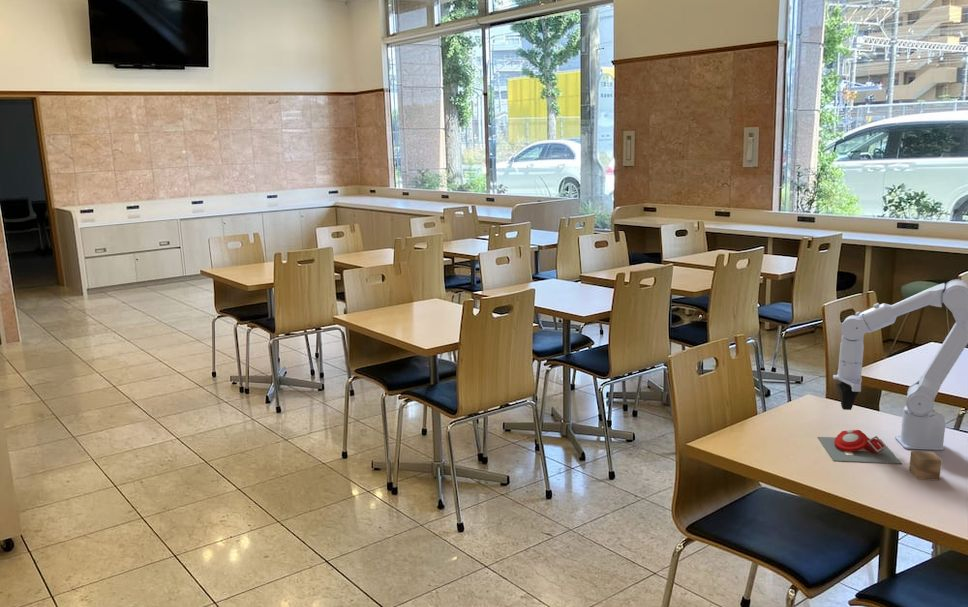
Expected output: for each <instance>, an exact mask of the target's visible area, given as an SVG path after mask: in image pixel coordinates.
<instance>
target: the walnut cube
mask: <svg viewBox="0 0 968 607" xmlns="http://www.w3.org/2000/svg"><path fill="white" fill-rule="evenodd" d="M941 468H942V459H941V458H940V457H939V456H938V455H937V454H936V453H935V451H921V450H920V451H917V450H914V451H913V450H911V451H910V458H909V468H908V471H909V473H911V474H912V475H913V476H914V478H915V479H916V480H931V481H932V480H933V481H934V480H935V481H940V478H941Z"/></svg>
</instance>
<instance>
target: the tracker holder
mask: <svg viewBox="0 0 968 607" xmlns="http://www.w3.org/2000/svg"><path fill="white" fill-rule="evenodd" d="M835 437H836V438H835V440H834V444H835V447H836V448H838V449H839V450H842V451H847V452H853V451H858V450H861V449H863V448H865V449H867V450H868V451H871V452H873V453H879V452H881V451H883V450H884V449H885V448H887V447H888V446H887V445H886V444H885V445H886V446H887V447H886V446H885V445H884V443H885V442H884V441H883V440H882V439H881V438H879V437H878V436H877V435H876V436H873V437H871V438H870V437H869V436H867V435H866V434H865V433H864V432H863V431H862V430H860V429H854V430H853V429H849V430H842V431H841V432H840V433H839V434H837V436H835ZM877 439H878V440H877ZM880 439H881V440H882V441H883V442H884V443H883V442H882V441H881V440H880Z"/></svg>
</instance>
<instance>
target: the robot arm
mask: <svg viewBox="0 0 968 607" xmlns="http://www.w3.org/2000/svg"><path fill="white" fill-rule="evenodd" d="M943 304H944V305H945V307H946V308H947V309H948V310H949V311H950V312H951V313H952V316H953V318H954V320H955V322H954V324H953V325H952V328H951V329H950V331H949V332H948V334H947V335H946V337H945V339H944V341H943V342H942V344H941V345H940V347H939V348H938V350H937V351H936V353H935V355H934V356H933V358H932V360H931V362H930V363H929V364H928V366H927V368H926V369H925V371H924V372H923V373H922V375H921V376H920V377H919V379H918V380H917V381H916V382H915V383H913V384H911V385H910V386H909V387H908V389H907V391H906V395H907V397H906V400H905V406H904V407H903V410H902V420H901V421H902V422H901V431H900V432H901V433H900V435H895V436H894V438H895V440H897V441H898V443H899V444H900V445H901V447H903V448H904V449H907V450H908V449H909V450H932V451H943V450H945V448H944V442H945V441H944V439H945V431H946V421H945V416H944V415H943V413H942V412H940V411H939V412H937V411H935V409H934V407H935V398H936V397H937V395H938V393H939V392H940V388H941V387H942V385H943V383H944V382H945V380H946V378H947V377H948V375H949V373H950V372H951V370H952V369H953V367H954V365H955V364H956V362H957V361H958V359H959V357H960V356H961V355H962V352H963V351H964V350H965V349H966V347H967V345H968V282H967V281H965V280H963V279H960V278H959V279H957V278H956V279H952V280H951V279H950V281H947V282H946V283H945V282H943V283H940V284H939V283H938V284H937V285H934V286H931V287H929V288H927V289H924V290H922V291H920V292H918V293H916V294H913V295H912V296H909V297H906V298H905V299H903V300H900V301H898V302H896V303H894V304H888V303H884V302H883V303H881V304H880V303H879V302H877V303H874V304H873V306H872V307H870V308H869V309H866V310H864V311H862V312H861V311H857V312H855V315H853V314H852V315H849V316H847V317H846V318H845V319H844V320H843V322H842V324H841V326H840V332H841V337H840V344H839V353H838V354H839V355H838V356H839V358H838V366H837V367H838V369H837V374H833V375H832V378H833V380H838V381H836V382H835V384H836V387H837V390H838V393H839V399H840V405H841V408H842V411H843V410H844V411H847V410H848V411H851V410H852V409H853V407H854V404H855V400H856V398H857V396H858V394H859V393H861V392H862V381H863V378H862V370H863V361H864V360H863V359H864V358H863V357H864V351H865V350H864V348H865V344H864V336H865V334H867V333H873V332H875V331H879V330H881V329H883V328H885V327H888V326H890V325H891V326H892V325H893V324H894V323H895V322H896V321H897V317H900V316H902V315H905V314H908V313H910V312H913V311H915V310H919V309H922V308H925V307H927V306H932V307H937V308H942V307H943Z"/></svg>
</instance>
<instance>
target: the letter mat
mask: <svg viewBox="0 0 968 607" xmlns="http://www.w3.org/2000/svg"><path fill="white" fill-rule="evenodd" d="M836 437H837V436H835V437H834V436H833V437H832V436H817V439H818V441H820V443H821V445H822V446H823V447H824V449H825V451H826V452H827V454H828V456H829V457H830V458H831V460H832V461H833V462H846V463H848V462H849V463H870V464H871V463H872V464H888V465H889V464H891V465H902V462H901V461H900V459H899V458H898V457H897V456H896V455H895V454H894V453H893V452H892V450H891V449H890V448H889V447H888V446H887V444H886V443H885V442H884V441H883V440H882V439H881V438H879V439H880V440H881V441H882V442H883V443H884V445H885V446H886V447H887V448H885V449H884V450H883V451H881V452H879V453H873V452H871V451H868V450H867V449H865V448H863V449H861V450H858V451H853V452H847V451H842V450H839V449H838V448H836V447H835V444H834V440H835V438H836ZM876 439H877V438H876ZM877 440H878V439H877Z"/></svg>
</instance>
